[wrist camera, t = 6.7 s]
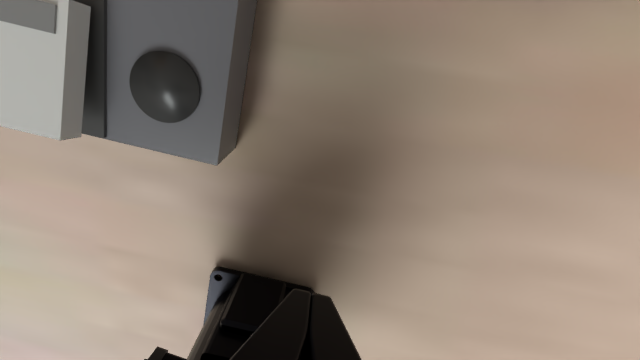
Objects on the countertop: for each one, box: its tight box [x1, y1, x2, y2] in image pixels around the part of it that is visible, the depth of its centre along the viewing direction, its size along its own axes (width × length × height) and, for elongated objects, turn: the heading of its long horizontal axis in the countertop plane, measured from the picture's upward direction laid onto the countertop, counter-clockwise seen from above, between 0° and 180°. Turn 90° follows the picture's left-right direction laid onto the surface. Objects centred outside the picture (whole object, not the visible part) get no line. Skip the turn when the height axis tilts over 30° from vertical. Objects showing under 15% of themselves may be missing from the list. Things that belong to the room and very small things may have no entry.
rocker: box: [0, 0, 91, 140], centre depth 14 cm, size 5×3×1 cm, turn 167°
